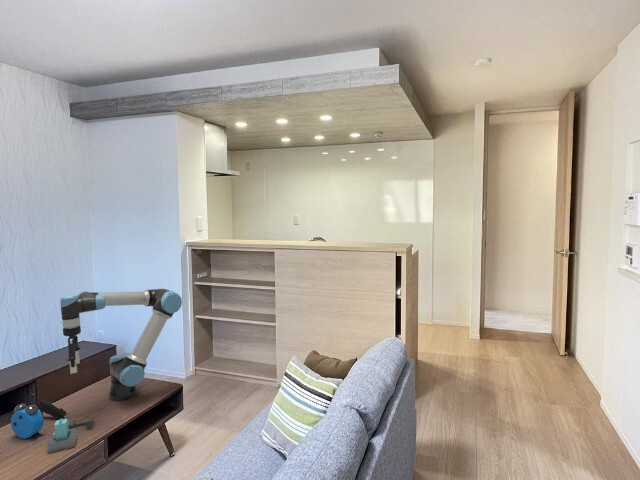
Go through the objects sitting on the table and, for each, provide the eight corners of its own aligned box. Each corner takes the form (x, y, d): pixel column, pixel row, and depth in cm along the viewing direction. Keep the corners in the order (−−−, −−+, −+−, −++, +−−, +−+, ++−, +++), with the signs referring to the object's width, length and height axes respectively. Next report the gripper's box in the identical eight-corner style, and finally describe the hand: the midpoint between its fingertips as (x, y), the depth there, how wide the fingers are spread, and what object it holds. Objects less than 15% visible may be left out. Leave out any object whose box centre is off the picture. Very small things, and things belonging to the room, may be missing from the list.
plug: (69, 439, 190) (67, 416, 189) (67, 444, 186) (65, 421, 185) (58, 441, 189) (56, 418, 188) (56, 446, 185) (54, 423, 184)
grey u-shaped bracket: (93, 422, 207) (92, 414, 206) (91, 428, 200) (91, 420, 200) (71, 426, 203) (70, 418, 202) (69, 433, 196) (68, 425, 196)
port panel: (77, 436, 194) (76, 427, 194) (74, 447, 185) (73, 438, 185) (51, 441, 190) (51, 432, 190) (47, 453, 181) (47, 443, 181)
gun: (59, 431, 210) (65, 414, 208) (33, 414, 212) (40, 398, 210) (63, 428, 212) (70, 412, 211) (38, 412, 215) (44, 396, 213)
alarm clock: (45, 433, 197) (42, 403, 196) (33, 441, 191) (30, 409, 190) (23, 430, 200) (20, 400, 199) (11, 437, 194) (8, 406, 193)
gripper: (65, 321, 215) (69, 361, 217) (59, 334, 193) (63, 378, 195) (82, 319, 218) (85, 358, 220) (77, 331, 196) (81, 375, 198)
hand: (75, 368), depth 208 cm, fingers open, 13 cm apart
